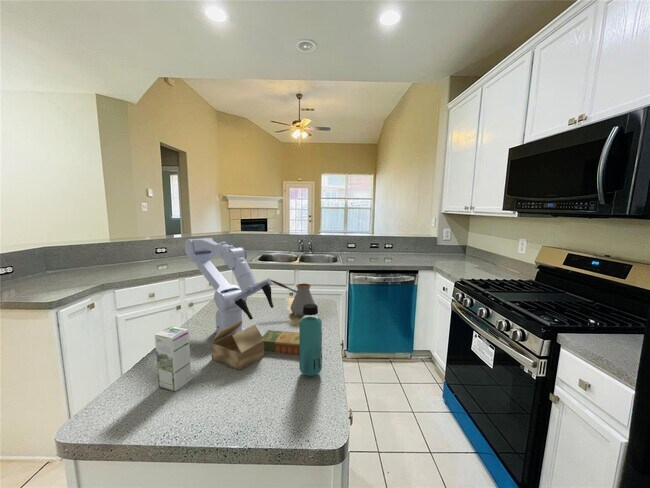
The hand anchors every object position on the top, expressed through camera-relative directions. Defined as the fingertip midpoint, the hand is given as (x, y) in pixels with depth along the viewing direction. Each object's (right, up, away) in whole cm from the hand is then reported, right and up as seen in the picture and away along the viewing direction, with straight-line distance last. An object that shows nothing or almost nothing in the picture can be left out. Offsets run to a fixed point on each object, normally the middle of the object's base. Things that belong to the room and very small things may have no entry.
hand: (261, 313), depth 94 cm
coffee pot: (+6, -8, +32) cm, 34 cm away
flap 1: (-10, -5, -5) cm, 12 cm away
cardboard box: (-6, -12, -6) cm, 15 cm away
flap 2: (-2, -5, -9) cm, 11 cm away
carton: (+8, -12, +1) cm, 15 cm away
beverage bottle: (+17, -14, -14) cm, 26 cm away
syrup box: (-18, -14, -19) cm, 30 cm away
